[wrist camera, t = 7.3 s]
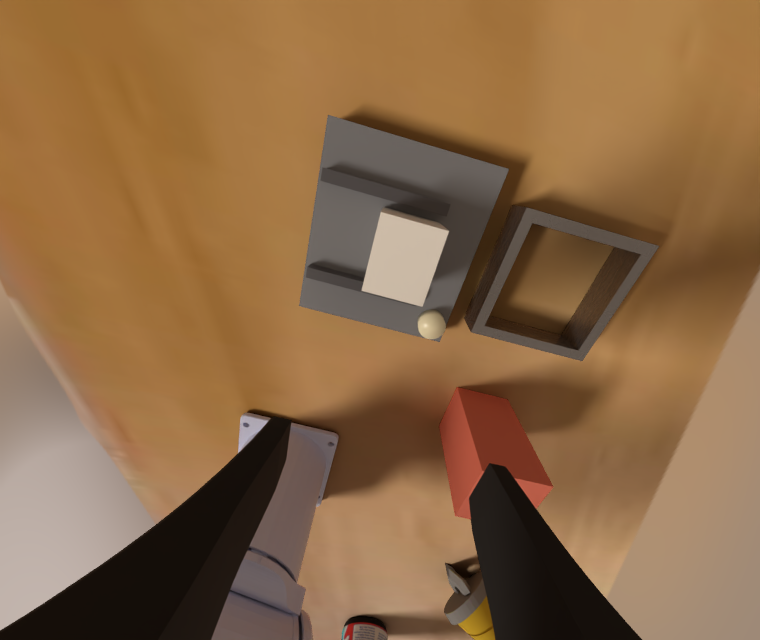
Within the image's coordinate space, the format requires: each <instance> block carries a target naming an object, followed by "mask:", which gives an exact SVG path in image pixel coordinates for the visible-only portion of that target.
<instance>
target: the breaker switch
mask: <svg viewBox="0 0 760 640" xmlns="http://www.w3.org/2000/svg"><path fill="white" fill-rule="evenodd" d="M448 233H449V231H448V230H447V229H446V228H445V227H444V226H443V225H441V224H440V223H439V222H436V221H432V220H429V219H425V218H422V217H418V216H415V215H411V214H408V213H404V212H400V211H397V210H393V209H390V208H386V207H383V209H382V211H381V213H380V217H379V221H378V225H377V229H376V233H375V237H374V241H373V245H372V250H371V254H370V258H369V262H368V266H367V270H366V274H365V278H364V282H363V286H362V290H361V291H364V292H368V293H372V294H376V295H380V296H383V297H387V298H391V299H395V300H398V301H402V302H406V303H410V304H414V305H417V306H421V307H423V304H424V301H425V298H426V296H427V293H428V290H429V287H430V284H431V281H432V278H433V276H434V273H435V270H436V267H437V264H438V261H439V259H440V256H441V253H442V250H443V247H444V244H445V241H446V239H447V236H448Z"/></svg>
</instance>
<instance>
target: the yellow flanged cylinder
mask: <svg viewBox="0 0 760 640" xmlns="http://www.w3.org/2000/svg"><path fill="white" fill-rule="evenodd" d="M445 565H446V570H447V575H448V579H449V584H450V585H451V587H452V588H453V590H454V593H453V595H452V596H451V597H450V599H449V600H448V602H447V604H446V606H445V608H444V613H445V614H446V616H447V618H448V620H449V621H450V623H451V624H452V625H457V624H458V625H459V626H460V627H461V628H462V629H463V630H464V631H466V632H467V633H468V634H469V635H470V636H471V637H472V638H473V639H474V640H495V634H494V629H493V623H492V618H491V613H490V609H489V604H488V600H487V595H486V591H485V586H484V582H483V577H482V573H481V572H478V573H476V574H474V575H472V576H471V577H470V578H468V579H467V580H465V579H463V578H462V577H461V576H460V575H459V574H457V573H456V572H455V570H454V569H453V568H452V567H451V566H449V565H447V564H446V563H445Z"/></svg>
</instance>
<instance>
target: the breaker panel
mask: <svg viewBox="0 0 760 640" xmlns="http://www.w3.org/2000/svg"><path fill="white" fill-rule="evenodd" d="M508 170H509V169H507V168H504V167H501V166H497V165H494V164H491V163H487V162H484V161H481V160H477V159H474V158H471V157H467V156H464V155H461V154H457V153H454V152H450V151H447V150H444V149H440V148H437V147H434V146H430V145H427V144H424V143H420V142H417V141H414V140H410V139H407V138H404V137H400V136H397V135H394V134H390V133H387V132H384V131H380V130H377V129H374V128H370V127H367V126H364V125H360V124H357V123H354V122H350V121H347V120H344V119H340V118H337V117H334V116H330V115H328V118H327V125H326V132H325V138H324V145H323V151H322V158H321V165H320V171H319V178H318V185H317V191H316V198H315V205H314V211H313V218H312V224H311V231H310V238H309V244H308V251H307V258H306V264H305V271H304V278H303V284H302V291H301V297H300V304H299V306H301V307H305V308H309V309H313V310H317V311H321V312H325V313H329V314H332V315H336V316H340V317H344V318H348V319H352V320H356V321H360V322H364V323H368V324H371V325H375V326H379V327H383V328H387V329H391V330H395V331H399V332H403V333H406V334H410V335H414V336H418V337H422V338H426V339H430V340H434V341H438V342H440V340H441V337H442V335H443V333H444V332H445V329H446V325H447V322H448V320H449V317H450V315H451V312H452V310H453V307H454V305H455V302H456V300H457V297H458V295H459V292H460V290H461V287H462V285H463V282H464V280H465V277H466V275H467V272H468V270H469V267H470V265H471V262H472V260H473V258H474V255H475V253H476V250H477V248H478V245H479V243H480V240H481V238H482V235H483V233H484V230H485V228H486V225H487V223H488V220H489V218H490V215H491V213H492V210H493V208H494V205H495V203H496V200H497V198H498V195H499V193H500V190H501V188H502V185H503V183H504V180H505V178H506V175H507V173H508ZM383 207H386V208H390V209H393V210H397V211H400V212H404V213H408V214H411V215H415V216H418V217H422V218H425V219H429V220H432V221H436V222H439V223H440V224H441V225H443V226H444V227H445V228H446V229H447V230H448V231H449V233H448V236H447V239H446V241H445V244H444V247H443V250H442V253H441V256H440V259H439V261H438V264H437V267H436V270H435V273H434V276H433V278H432V281H431V284H430V287H429V290H428V293H427V296H426V298H425V301H424V304H423V307H421V306H417V305H414V304H410V303H406V302H402V301H398V300H395V299H391V298H387V297H383V296H380V295H376V294H372V293H368V292H364V291H361V290H362V286H363V282H364V278H365V274H366V270H367V266H368V262H369V258H370V254H371V250H372V245H373V241H374V237H375V233H376V229H377V225H378V221H379V217H380V213H381V211H382V209H383Z"/></svg>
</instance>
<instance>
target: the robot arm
mask: <svg viewBox="0 0 760 640" xmlns="http://www.w3.org/2000/svg"><path fill="white" fill-rule="evenodd" d="M291 421H292V420H289V419H284V418H280V417H275V416H274V417H272V418H269V417H265V416H261V415H256V414H252V413H244V414H243V415H242V416H241V419H240V434H239V448H238V454H237V455H236V456H235V457H234V458H233V459H232V460H231V461H230V462H229V463H228V464H227V465H226V466H225V467H224V468H222V469H221V470H220V471H219V472H218V473H217V474H216V475H215V476H214V477H212V478H211V479H210V480H209V481H208V482H207V483H206V484H205V485H204V486H202V487H201V488H200V489H199V490H198V491H197V492H196V493H194V494H193V495H192V496H191V497H190V498H189V499H187V500H186V501H185V502H184V503H183V504H181V505H180V506H179V507H178V508H176V509H175V510H174V511H173V512H171V513H170V514H169V515H168V516H166V517H165V518H164V519H163V520H161V521H160V522H159V523H158V524H156V525H155V526H154V527H152V528H151V529H150V530H148V531H147V532H146V533H144V534H143V535H142V536H140V537H139V538H138V539H136V540H135V541H134V542H132V543H131V544H130V545H128V546H127V547H125V548H124V549H123V550H121V551H120V552H119V553H117V554H116V555H114V556H113V557H112V558H110V559H109V560H107V561H106V562H104V563H103V564H102V565H100V566H99V567H97V568H96V569H94V570H93V571H91V572H90V573H88V574H87V575H85V576H84V577H82V578H81V579H79V580H78V581H77V582H75V583H73V584H72V585H70V586H69V587H67V588H66V589H65V590H63V591H62V592H60V593H58V594H57V595H56V596H54V597H53V598H51V599H50V600H48V601H47V602H45V603H44V604H42V605H40V606H39V607H37V608H36V609H34V610H33V611H31V612H29V613H28V614H27V615H25V616H23V617H22V618H20V619H18V620H17V621H15V622H14V623H12V624H10V625H9V626H7V627H5V628H4V629H2V630H0V640H313V635H312V626H311V621H310V618H309V616H308V614H307V613H306V612H305V611H304V610H301V608H302V604H303V599H304V595H305V590H306V589H305V588H304V587H302V586H300V585H299V584H297V581H298V577H299V573H300V569H301V565H302V561H303V557H304V553H305V549H306V545H307V541H308V537H309V533H310V529H311V525H312V521H313V517H314V513H315V509H316V507H317V506H319V505H320V504H321V501H322V498H323V494H324V490H325V487H326V483H327V479H328V476H329V472H330V468H331V465H332V461H333V457H334V454H335V450H336V446H337V443H338V439H339V436H338V435H337V434H336V433H334V432H330V431H325V430H321V429H317V428H312V427H308V426H304V425H299V424H295V423H291ZM331 442H332V443H331ZM469 505H470V516H471V524H472V531H473V536H474V541H475V546H476V550H477V555H478V559H479V564H480V568H481V573H482V577H483V582H484V586H485V591H486V595H487V600H488V604H489V609H490V613H491V618H492V623H493V629H494V634H495V640H642V639H641V638H640V637H639V636H638V635H637V634H636V633H635V631H634V630H633V629H632V628H631V627H630V626H629V625H628V624H627V623H626V622H625V620H624V619H623V618H622V617H621V616H620V615H619V613H618V612H617V611H616V610H615V609H614V608H613V606H612V605H611V604H610V603H609V602H608V601H607V599H606V598H605V597H604V596H603V595H602V594H601V592H600V591H599V590H598V589H597V588H596V586H595V585H594V584H593V583H592V582H591V580H590V579H589V578H588V577H587V575H586V574H585V573H584V572H583V570H582V569H581V568H580V567H579V565H578V564H577V563H576V562H575V560H574V559H573V558H572V557H571V555H570V554H569V553H568V551H567V550H566V549H565V547H564V546H563V545H562V544H561V542H560V541H559V540H558V538H557V537H556V536H555V534H554V533H553V532H552V530H551V529H550V527H549V526H548V525H547V523H546V522H545V521H544V519H543V518H542V516H541V515H540V514H539V512H538V511H537V510H536V508H535V507H534V505H533V504H532V502H531V501H530V500H529V498H528V497H527V495H526V494H525V493H524V491H523V490H522V488H521V487H520V486H519V484H518V483H517V481H516V480H515V479H514V477H513V476H512V474H511V473H510V472H509V470H508V469H507V468H506V466H501V465H497V464H492V463H489V465H488V466H487V468H486V470H485V471H484V473H483V475H482V476H481V478H480V480H479V482H478V483H477V485H476V487H475V488H474V490H473V492H472V494H471V495H470V497H469Z"/></svg>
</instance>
